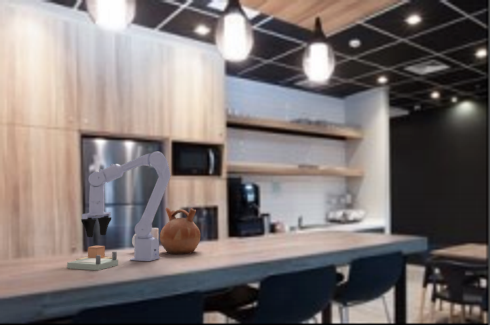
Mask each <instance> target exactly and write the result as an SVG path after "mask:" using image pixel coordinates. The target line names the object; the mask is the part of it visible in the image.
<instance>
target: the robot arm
mask: <svg viewBox="0 0 490 325" xmlns="http://www.w3.org/2000/svg"><path fill="white" fill-rule="evenodd" d="M141 166H146V167H150V166H152V167H153V168H154V169H155V171H156V173H157V176H158V178H157V180H156V182H155V185H154V188H153V190H152V192H151V194H150V196H149V199H148V202H147V204H146V207H145V209H144V211H143V214H142V215H141V217H140V220H139V222H137V223H136V224H135V226H134V234H136V236H134V235H133V236H134V237H135V238H134V246H133V247H134V249H133V250H134V252H133V253H134V256H133V257H132V258H129V261H140V262H141V261H142V262H152V261H155V260H158V259H160V258H161V257H160V242H159V241H160V240H159V238H158V239H157V238H153V235H152V234H151V233H150V232H151V230H152V228H153V221H154V219H155V216H156V213H157V212H158V209H159V206H160V204H161V201H162V199H163V197H164V195H165V194H164V193H165V192H166V190H167V187H168V184H169V181H170V179H171V176H172V175H171V170H170V167H169V161H168V159H167V158H166V157H165V155H164V153H162V152H161V151H152V153H150V152H149V153H146V154H144V155H141V156H138V157H136V158H134V159H132V160H129V161H128V162H127V161H126V162H125V163H123V164H119V163H115V164H114V163H111V164H110V166H108V167H105V168H103V169H102V168H100V169H99V168H98V171H93V172H91V173H90V174H89V176H88V183H89V198H88V199H89V201H88V204H89V205H88V206H89V208H88V209H89V210H88V212H87V213H82V214H81V219H80V220H81V223H82V226H83V227H84V230H85V233H86V237H87V238H94V229H95V224H96V222H97V221H98V226H99V234H100V236H105V235H106V234H107V231H108V228H109V225H110V223H111V220H112V215H111V214H112V213H111V211H105V184H106V183H110V182H112V181H115V180H118V179H119V178H122V177H123V176H124V173H125V172H128V171H131V170H133V169H136V168H140V167H141Z"/></svg>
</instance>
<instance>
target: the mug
mask: <svg viewBox="0 0 490 325" xmlns="http://www.w3.org/2000/svg"><path fill="white" fill-rule="evenodd" d="M150 233H151V234H152V235H153V238H157V239H158V240H159V227H152V230H151V232H150ZM134 236H136V233H134V234H133V236H132V238H131V243H132V247H134V238H135V237H134Z"/></svg>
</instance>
